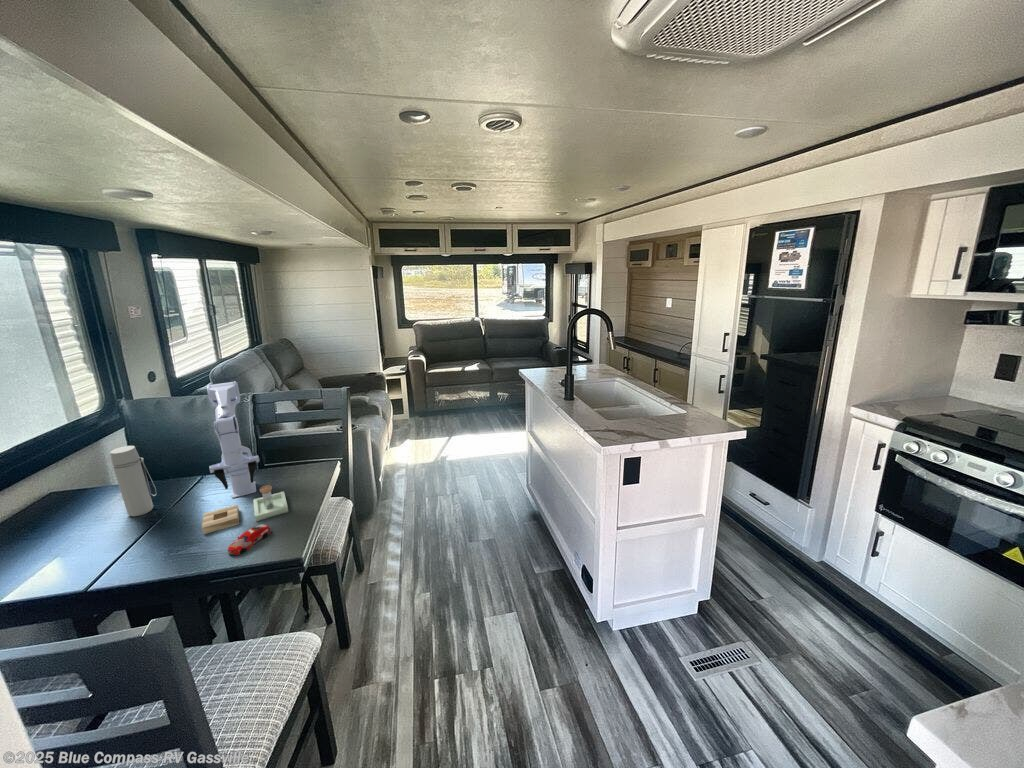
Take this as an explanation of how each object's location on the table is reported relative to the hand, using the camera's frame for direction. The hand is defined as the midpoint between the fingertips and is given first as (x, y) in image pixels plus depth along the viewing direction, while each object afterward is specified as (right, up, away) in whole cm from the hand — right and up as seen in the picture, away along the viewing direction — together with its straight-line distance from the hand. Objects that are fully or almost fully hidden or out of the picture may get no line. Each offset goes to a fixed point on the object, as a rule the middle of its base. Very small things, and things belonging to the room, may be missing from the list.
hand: (239, 484), depth 146 cm
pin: (+9, -9, +3) cm, 13 cm away
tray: (+9, -10, +4) cm, 14 cm away
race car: (+14, -15, -15) cm, 26 cm away
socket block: (-3, -12, -4) cm, 13 cm away
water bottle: (-37, -11, +3) cm, 39 cm away
